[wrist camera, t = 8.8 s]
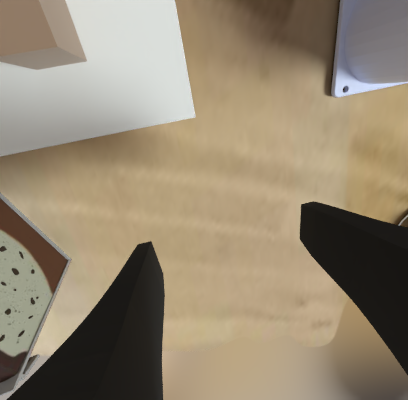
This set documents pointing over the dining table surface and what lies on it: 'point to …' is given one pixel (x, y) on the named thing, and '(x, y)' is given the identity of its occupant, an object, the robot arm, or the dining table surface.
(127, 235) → the dining table surface
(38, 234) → the food container
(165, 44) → the cover sheet
